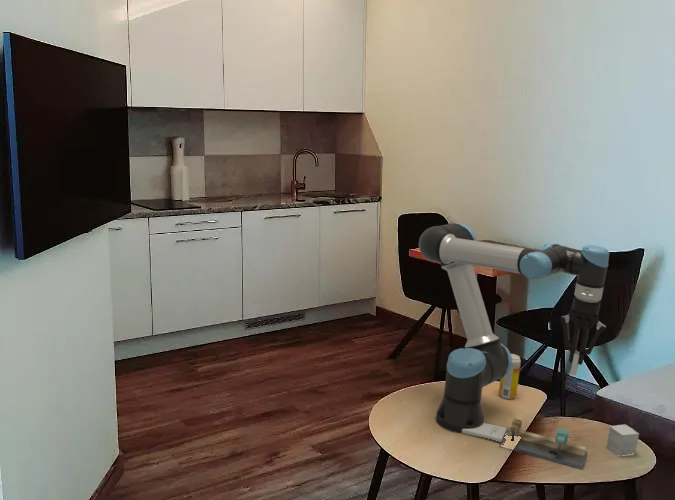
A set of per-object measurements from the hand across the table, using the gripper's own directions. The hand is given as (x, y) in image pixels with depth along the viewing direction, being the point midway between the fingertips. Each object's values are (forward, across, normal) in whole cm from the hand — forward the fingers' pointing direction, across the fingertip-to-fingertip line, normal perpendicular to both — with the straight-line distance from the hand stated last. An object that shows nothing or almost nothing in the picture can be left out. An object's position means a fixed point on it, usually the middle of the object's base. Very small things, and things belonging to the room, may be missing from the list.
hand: (573, 373), depth 207 cm
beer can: (+24, -23, +24) cm, 41 cm away
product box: (+23, +17, +5) cm, 29 cm away
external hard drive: (+24, -22, -8) cm, 33 cm away
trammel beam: (+22, -4, -7) cm, 24 cm away
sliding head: (+22, +1, -7) cm, 23 cm away
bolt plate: (+23, -4, -8) cm, 25 cm away
